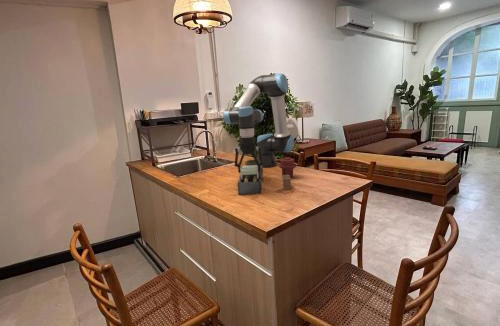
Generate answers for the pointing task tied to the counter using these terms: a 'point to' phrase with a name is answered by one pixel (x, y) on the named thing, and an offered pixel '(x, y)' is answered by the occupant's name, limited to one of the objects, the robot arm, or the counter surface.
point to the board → (249, 170)
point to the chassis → (249, 184)
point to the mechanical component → (287, 166)
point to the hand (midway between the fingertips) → (249, 178)
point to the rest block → (287, 182)
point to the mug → (252, 162)
